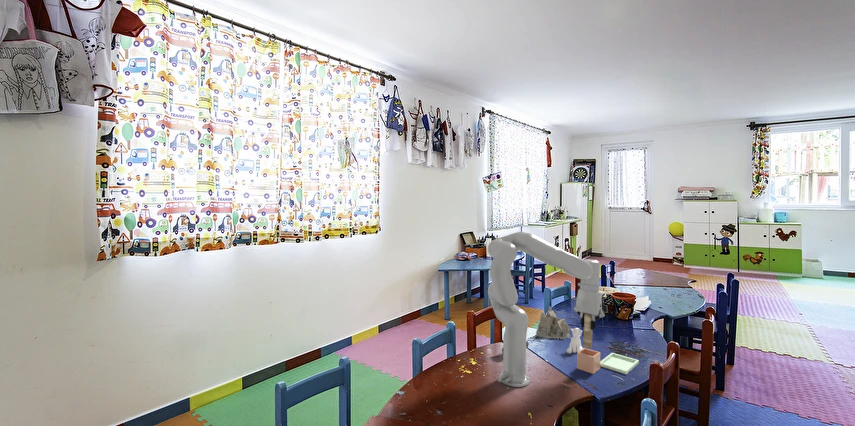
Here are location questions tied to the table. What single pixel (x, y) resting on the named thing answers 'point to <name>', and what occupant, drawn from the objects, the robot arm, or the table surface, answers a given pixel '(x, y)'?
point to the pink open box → (588, 360)
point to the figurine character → (526, 344)
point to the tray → (619, 363)
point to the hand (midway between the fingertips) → (588, 327)
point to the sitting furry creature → (575, 341)
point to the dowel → (587, 331)
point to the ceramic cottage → (552, 326)
